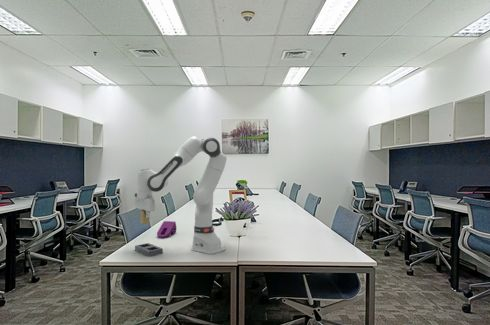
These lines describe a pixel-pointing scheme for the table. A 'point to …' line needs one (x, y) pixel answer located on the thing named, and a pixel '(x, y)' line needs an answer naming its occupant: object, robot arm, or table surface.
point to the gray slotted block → (148, 249)
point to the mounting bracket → (167, 229)
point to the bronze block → (143, 217)
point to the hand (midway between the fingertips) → (145, 216)
